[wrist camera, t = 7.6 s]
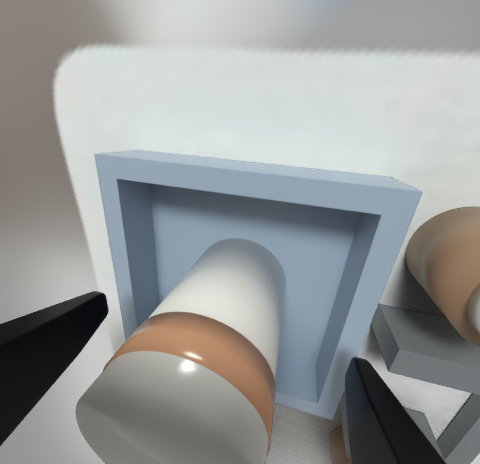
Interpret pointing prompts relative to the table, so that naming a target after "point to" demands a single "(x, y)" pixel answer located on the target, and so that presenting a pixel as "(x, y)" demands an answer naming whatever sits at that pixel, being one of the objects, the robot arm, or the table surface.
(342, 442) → the cylinder
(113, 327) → the table surface
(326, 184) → the tray
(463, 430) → the grey bar and blocks
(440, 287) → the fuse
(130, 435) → the cylinder
